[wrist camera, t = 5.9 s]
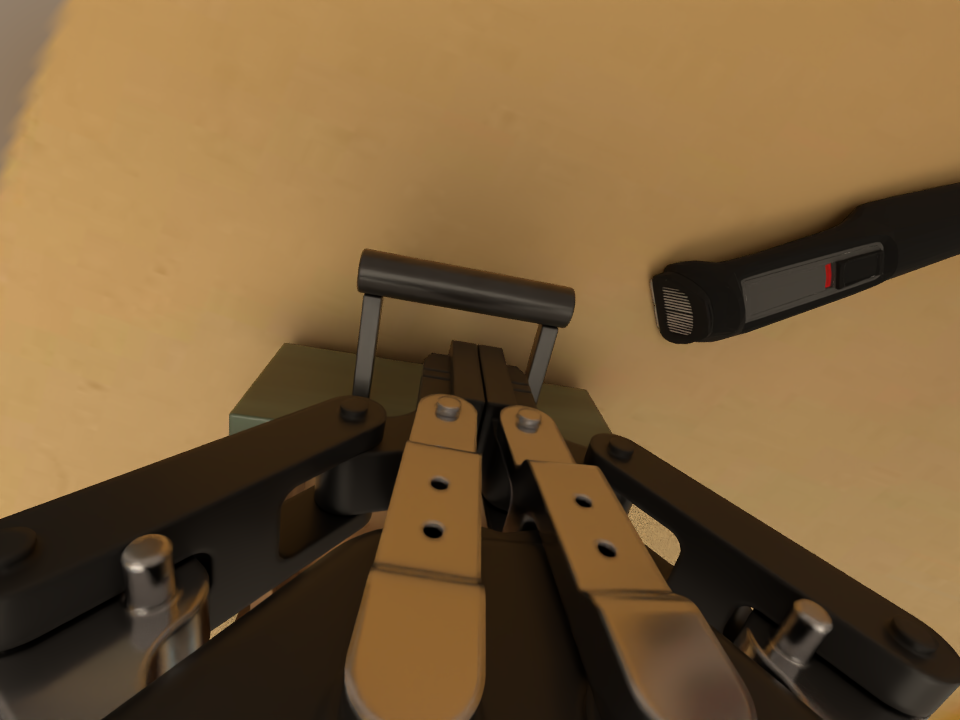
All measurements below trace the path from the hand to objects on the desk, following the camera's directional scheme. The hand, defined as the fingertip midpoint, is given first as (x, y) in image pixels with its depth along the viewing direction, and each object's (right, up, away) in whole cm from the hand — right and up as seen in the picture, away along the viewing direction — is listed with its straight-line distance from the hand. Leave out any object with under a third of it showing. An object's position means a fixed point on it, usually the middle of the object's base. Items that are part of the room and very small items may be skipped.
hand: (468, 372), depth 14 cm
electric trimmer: (+15, +5, +7) cm, 17 cm away
